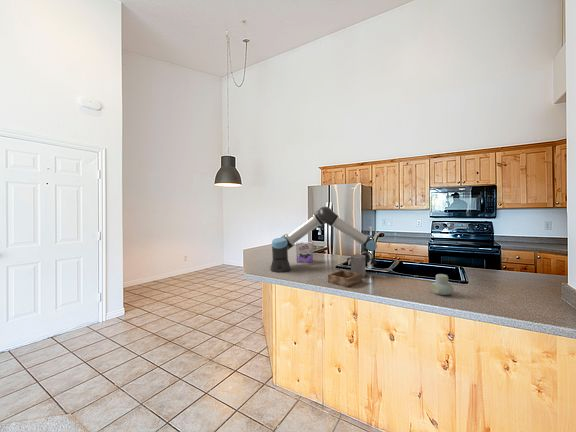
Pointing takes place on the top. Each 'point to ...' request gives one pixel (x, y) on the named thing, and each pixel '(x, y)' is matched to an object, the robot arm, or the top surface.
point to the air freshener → (442, 285)
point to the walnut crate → (345, 278)
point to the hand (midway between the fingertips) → (358, 263)
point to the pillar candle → (358, 264)
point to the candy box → (304, 251)
